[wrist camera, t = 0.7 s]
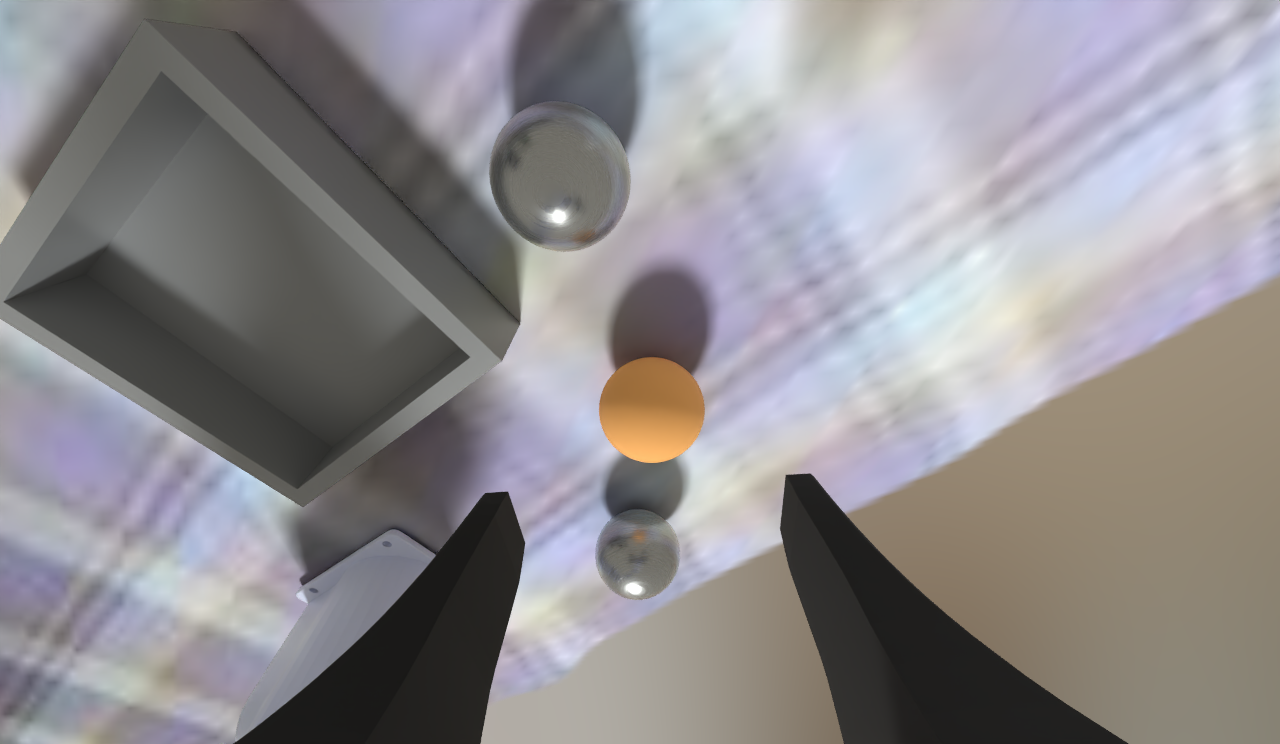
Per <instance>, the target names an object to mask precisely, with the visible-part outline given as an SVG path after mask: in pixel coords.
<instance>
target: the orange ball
mask: <svg viewBox="0 0 1280 744" xmlns="http://www.w3.org/2000/svg"><path fill="white" fill-rule="evenodd" d="M704 412H705V408H704V399H703V396H702V393H701V390H700V388H699V386H698V384H697V382H696V381H695V379H694V378H693V376H692V375H691V374H690V373H689V372H688V371H687V370H686V369H684V368H683V367H682V366H680V365H679V364H677V363H675V362H673V361H670V360H667V359H664V358H658V357H645V358H640V359H636V360H633V361H631V362H629V363H627V364H625V365H623V366H622V367H620V368H619V369H618V370H617V371H616V372H615V373H614V374H613V375H612V376H611V377H610V379H609V380H608V381H607V383H606V385H605V387H604V389H603V391H602V394H601V398H600V403H599V416H600V422H601V425H602V429H603V431H604V433H605V435H606V437H607V438H608V440H609V441H610V443H611V444H612V445H613V446H614V447H615V448H616V449H617V450H618V451H619V452H621V453H622V454H624V455H625V456H627V457H629V458H631V459H634V460H636V461H640V462H646V463H658V462H663V461H667V460H670V459H673V458H675V457H677V456H679V455H680V454H682V453H683V452H684V451H686V450H687V449H688V448H689V447H690V446H691V445H692V444H693V442H694V441H695V440H696V438H697V437H698V435H699V433H700V430H701V427H702V425H703V420H704Z"/></svg>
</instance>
